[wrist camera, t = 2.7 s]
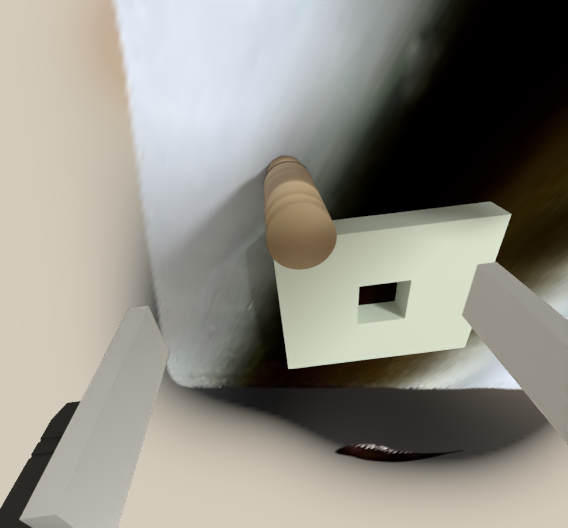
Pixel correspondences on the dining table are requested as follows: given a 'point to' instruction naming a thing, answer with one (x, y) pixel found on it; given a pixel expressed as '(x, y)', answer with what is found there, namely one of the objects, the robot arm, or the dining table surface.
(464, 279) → the board
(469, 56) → the dining table surface
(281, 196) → the peg
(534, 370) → the robot arm
